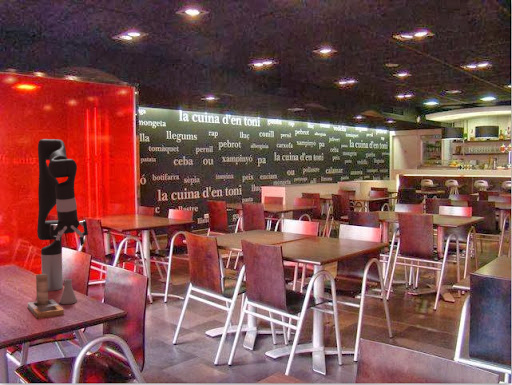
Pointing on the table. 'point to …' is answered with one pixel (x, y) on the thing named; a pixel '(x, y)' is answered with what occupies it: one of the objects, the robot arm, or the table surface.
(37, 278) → the wooden peg
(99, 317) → the table surface
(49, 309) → the flat wooden frame
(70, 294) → the flask
